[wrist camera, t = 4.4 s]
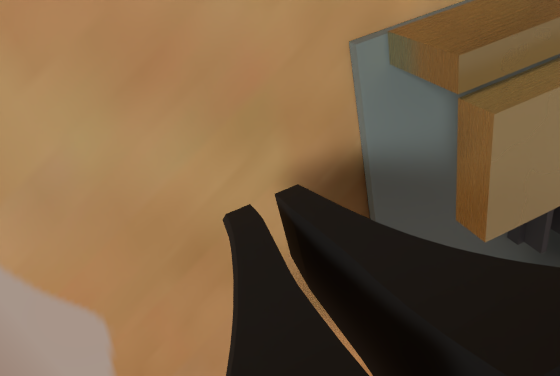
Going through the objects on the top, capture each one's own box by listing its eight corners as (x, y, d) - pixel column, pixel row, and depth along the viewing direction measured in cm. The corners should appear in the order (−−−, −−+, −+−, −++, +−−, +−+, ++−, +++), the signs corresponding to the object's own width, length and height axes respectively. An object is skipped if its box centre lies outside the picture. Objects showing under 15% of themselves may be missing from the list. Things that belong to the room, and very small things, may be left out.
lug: (511, 126, 17) (620, 176, 14) (397, 175, 16) (485, 242, 13) (525, -18, 14) (667, 1, 11) (387, 31, 13) (497, 68, 10)
